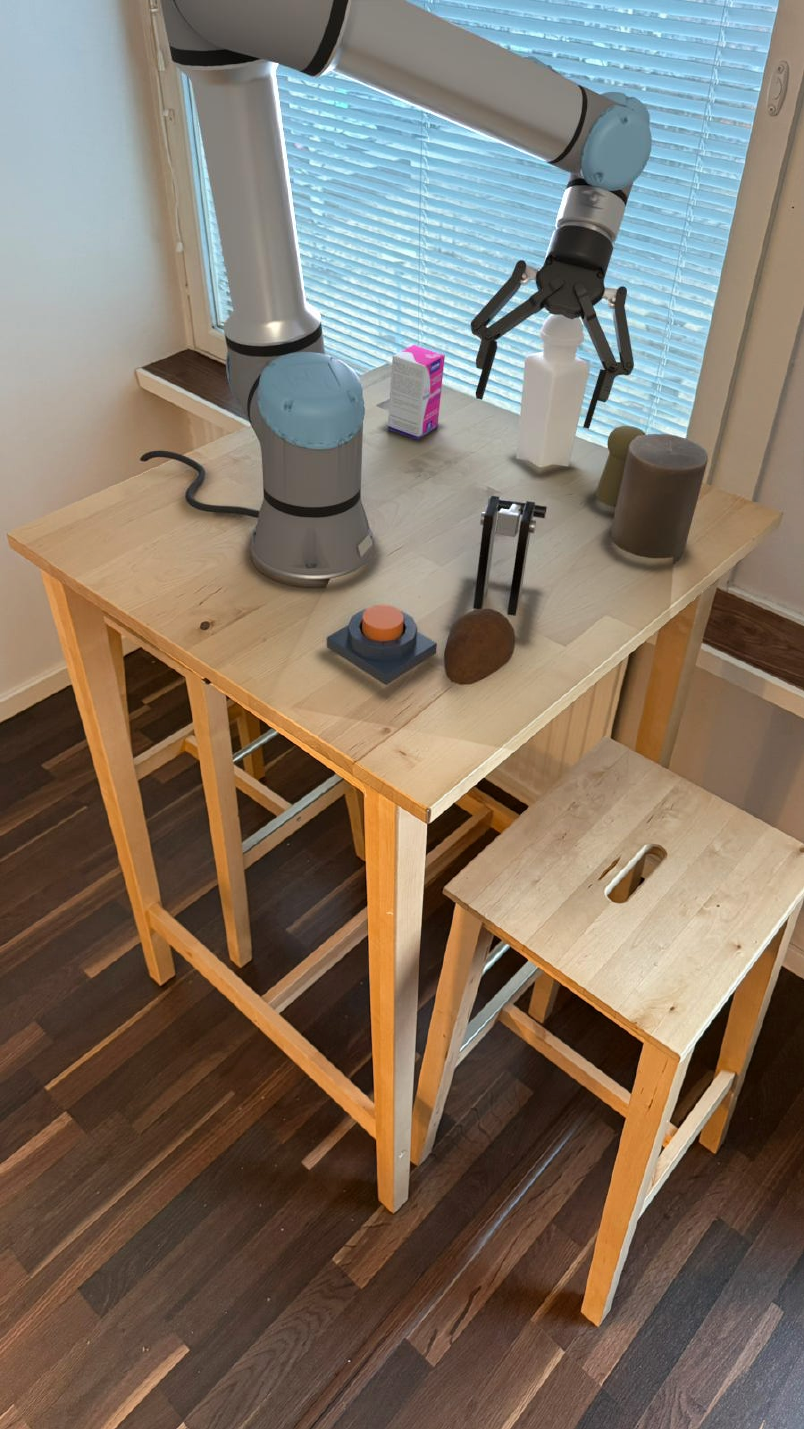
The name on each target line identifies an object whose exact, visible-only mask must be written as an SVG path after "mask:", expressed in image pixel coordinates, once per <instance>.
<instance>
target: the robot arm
mask: <svg viewBox="0 0 804 1429" xmlns="http://www.w3.org/2000/svg"><path fill="white" fill-rule="evenodd" d="M159 2H160V7H161V13H162V17H163V22H164V26H165V27H164V28H165V32H166V37H167V38H166V39H167V43H168V47H169V52H170V57H171V62H172V65H173V66H175V67H176V68H177V69H178V70H179V71H180V72H181V73H182V74H184V75H185V76H186V77H187V78H188V79H189V80H190V83H191V87H192V94H193V98H194V104H195V110H196V115H197V120H198V127H199V131H200V137H201V142H202V148H203V154H204V160H205V165H206V169H207V176H208V180H209V181H208V182H209V187H210V191H211V198H212V202H213V207H214V212H215V218H216V224H217V225H216V226H217V229H218V235H219V241H220V246H221V251H222V256H223V263H224V269H225V274H226V278H227V285H228V290H229V295H230V300H231V306H232V312H231V314H230V315H229V316H228V318H227V319H226V320H225V322H224V324H223V333H224V334H223V335H224V338H225V339H224V340H225V345H226V349H227V351H226V356H225V357H226V358H225V367H226V368H225V369H226V372H225V373H226V378H227V382H228V385H229V388H230V391H231V394H232V395H233V398H234V399H235V400H236V402H237V403H238V404H239V405H240V407H241V409H242V410H243V413H244V414H245V416H246V418H247V420H248V422H249V424H250V426H251V428H252V430H253V432H254V434H255V436H256V438H257V440H258V442H259V446H260V452H261V469H262V470H261V472H262V490H263V492H262V493H263V500H262V502H261V505H260V509H259V510H257V509H253V508H250V507H249V508H248V507H244V506H243V507H242V506H235V505H234V506H232V505H215V504H207V503H203V502H200V501H198V500H196V499H195V498H194V497H193V496H194V494H195V492H196V490H198V488H199V487H200V486H201V485H202V484H203V482H204V481H205V478H206V470H205V468H204V467H203V465H201V464H200V463H199V462H198V461H195V460H194V459H193V458H191V457H188V456H186V455H183V454H180V453H177V452H173V451H169V450H151V451H148V452H146V453H143V455H141V457H140V458H139V461H140V462H148V461H149V460H151V459H155V458H165V459H169V460H174V461H178V462H181V463H183V464H185V465H187V466H189V467H191V468H192V469H194V470H195V471H196V472H198V475H197V476H196V478H195V479H194V480H193V481H192V482H191V483H190V485H189V486H188V488H187V489H186V491H185V496H184V497H185V501H186V502H187V503H188V504H189V505H190V506H191V507H192V508H194V509H197V510H199V511H203V512H208V513H218V514H234V515H235V514H236V515H243V516H249V517H251V518H252V517H253V518H257V521H256V524H255V526H254V528H253V530H252V533H251V537H250V556H251V560H252V563H253V564H254V566H255V567H256V569H258V571H259V572H261V574H263V575H265V577H268V578H270V579H272V580H274V581H275V582H279V583H282V584H285V585H289V586H293V587H299V588H300V587H301V588H326V587H327V586H328V584H329V582H330V581H331V579H334V578H339V577H343V576H347V575H350V574H351V573H354V572H356V571H358V570H359V569H361V568H362V567H363V566H365V565H366V564H367V563H368V562H369V561H370V560H371V558H372V557H373V553H374V550H375V538H374V536H373V532H372V529H371V528H370V524H369V520H368V516H367V514H366V511H365V508H364V505H363V502H362V470H363V469H362V467H363V466H362V465H363V438H364V437H363V436H364V434H363V432H364V420H365V414H366V407H365V400H364V393H363V392H364V391H363V385H362V382H361V379H360V377H359V375H358V374H357V373H356V371H355V370H354V369H353V368H352V367H351V366H350V365H348V364H347V363H346V362H344V361H342V360H340V359H333V357H332V356H330V355H328V354H326V350H325V349H326V348H325V340H324V333H323V326H322V318H321V314H320V312H319V311H318V310H317V309H316V308H315V307H313V306H312V305H311V304H309V302H307V301H306V295H305V286H304V279H303V270H302V265H301V264H302V262H301V257H300V248H299V241H298V235H297V234H298V233H297V227H296V219H295V211H294V204H293V195H292V189H291V180H290V173H289V166H288V158H287V151H286V142H285V136H284V130H283V129H284V128H283V122H282V113H281V106H280V99H279V90H278V84H277V76H276V70H277V67H278V66H279V65H281V66H284V67H287V68H288V69H292V70H295V71H297V72H300V73H303V74H304V75H307V76H309V77H312V78H315V79H316V78H320V77H321V76H323V75H325V74H326V73H328V72H332V73H335V74H337V75H339V76H342V77H344V78H346V79H348V80H351V81H353V82H356V83H359V84H361V85H362V86H365V87H368V88H369V89H373V90H375V91H378V92H380V93H382V94H385V95H386V96H389V97H392V98H393V99H396V100H399V101H401V102H403V103H406V104H408V105H411V106H413V107H415V108H418V109H420V110H423V111H425V112H427V113H430V114H431V115H434V116H437V117H439V118H442V119H444V120H446V121H449V122H451V123H453V124H455V125H458V126H460V127H463V128H465V129H467V130H469V131H472V132H474V133H476V134H479V135H481V136H483V137H485V138H489V139H491V140H493V141H495V142H498V143H500V144H503V145H505V146H507V147H510V148H512V149H513V150H517V151H519V152H522V153H524V154H526V155H529V156H531V157H533V158H535V159H538V160H540V161H543V162H545V163H547V164H549V165H550V166H552V167H553V166H554V167H555V168H558V169H560V170H562V171H565V172H568V173H569V174H568V178H567V182H566V187H565V190H564V194H563V197H562V201H561V204H560V207H559V210H558V214H557V217H556V220H555V229H554V230H553V232H552V234H551V238H550V241H549V244H548V248H547V251H546V254H545V255H546V256H545V259H544V262H543V264H542V265H541V266H540V268H539V269H537V268H534V267H532V266H529V265H527V263H526V261H525V260H523V259H520V260H518V261H517V262H516V264H515V266H514V268H513V271H512V273H511V276H510V277H509V279H507V281H505V283H504V284H503V285H502V286H501V288H499V290H498V291H497V292H496V293H495V294H494V295H493V296H492V297H491V299H490V300H489V301H488V302H487V303H486V304H485V305H484V306H483V308H482V309H481V310H480V311H479V312H478V313H477V315H476V316H474V317H473V319H472V320H471V321H470V331H471V334H472V335H473V336H476V337H477V338H479V339H480V343H479V347H478V350H477V355H476V358H475V367H476V369H478V370H481V372H480V376H479V380H478V383H477V386H476V390H475V398H476V399H477V400H481V401H483V400H484V396H485V395H484V394H485V392H486V388H487V384H488V382H489V379H490V375H491V372H492V368H493V364H494V361H495V357H496V355H497V351H498V341H497V340H499V339H500V338H502V337H503V336H504V335H506V334H507V333H508V332H510V331H511V330H513V329H514V328H516V327H517V326H519V325H520V324H521V323H523V322H525V321H526V320H528V319H529V318H530V317H532V316H533V315H536V314H537V313H539V312H540V311H542V310H543V309H545V310H546V311H547V312H548V314H549V315H550V314H554V315H563V316H565V317H566V318H569V319H574V318H578V317H579V318H580V320H581V322H582V324H583V325H584V326H583V327H585V328H586V331H587V333H588V336H589V338H590V340H591V342H592V344H593V347H594V349H595V352H596V354H597V356H598V358H599V360H600V363H601V365H602V367H603V369H602V368H600V370H599V373H598V376H597V379H596V383H595V386H594V389H593V391H592V397H591V399H590V402H589V407H588V409H587V412H586V416H585V419H584V423H583V425H582V428H584V429H587V430H590V428H591V427H590V426H591V423H592V421H593V417H594V414H595V410H596V408H597V405H598V402H602V403H606V402H608V400H609V397H610V395H611V391H612V388H613V385H614V381H615V379H616V378H617V377H618V376H630V375H631V374H632V372H633V371H634V368H635V361H634V355H633V348H632V344H631V337H630V331H629V325H628V319H627V318H628V317H627V312H626V306H625V305H626V301H627V295H628V288H627V287H626V286H624V285H621V286H619V287H618V288H614V287H606V286H605V279H606V275H607V273H608V272H607V271H608V268H609V264H610V261H611V258H612V255H613V252H614V246H613V244H614V243H616V241H617V239H618V236H619V232H620V229H621V225H622V222H623V219H624V215H625V213H626V206H627V203H628V201H629V197H630V194H631V191H632V188H633V185H634V182H635V181H636V180H637V179H638V178H639V177H640V176H641V175H642V173H643V171H644V170H645V168H646V166H647V164H648V161H649V159H650V157H651V153H652V146H653V139H652V138H653V136H652V132H651V129H650V124H651V123H650V122H651V116H650V111H649V110H648V108H647V106H646V105H645V104H644V103H643V102H642V101H641V100H640V99H638V98H636V97H635V96H628V95H626V93H625V92H620V91H606V92H603V93H598V92H596V91H594V90H592V89H590V88H587V87H585V86H583V85H581V84H578V83H577V82H576V81H573V80H572V79H570V78H567V77H566V76H563V75H562V74H560V73H559V72H557V71H556V70H555V69H554V68H553V66H552V65H550V64H546V63H544V61H542V60H540V59H539V58H537V57H536V56H532V55H531V56H530V55H527V56H521V55H520V54H518V53H515V52H513V51H512V50H510V49H508V48H505V47H503V46H501V45H499V44H497V43H495V42H493V41H491V40H488V39H487V38H484V37H483V36H481V35H479V34H476V33H474V32H473V31H470V30H468V29H466V28H464V27H462V26H460V25H458V24H456V23H453V22H452V21H450V20H447V19H446V18H443V17H441V16H439V15H437V14H435V13H433V12H431V11H428V10H427V9H425V8H422V7H421V6H418V5H417V4H414V3H412V2H410V1H408V0H159ZM531 281H535V285H536V288H537V291H536V292H534V293H533V294H532V295H530V296H529V298H528V299H526V300H525V301H524V302H522V303H521V304H519V305H518V306H516V307H515V308H513V309H512V310H511V311H509V312H507V313H506V314H505V315H503V316H502V317H501V318H499V319H498V320H496V321H495V322H493V323H492V324H491V325H489V324H490V323H491V322H492V321H493V320H494V319H495V317H496V316H497V315H498V314H499V313H500V311H502V310H503V308H504V307H505V306H506V305H507V304H508V303H509V302H510V301H511V299H512V298H513V297H514V296H515V295H516V294H517V293H518V291H519V290H520V288H521V286H523V287H524V286H527V285H528V284H529V282H531ZM602 300H606V303H607V307H608V308H609V309H611V310H612V320H613V327H614V332H615V339H616V344H617V345H616V346H617V350H618V357H619V361H617V360H616V357H615V355H614V353H613V351H612V348H611V346H610V344H609V342H608V339H607V337H606V335H605V332H604V330H603V328H602V325H601V323H600V320H599V318H598V316H597V311H596V309H595V308H594V307H595V306H596V305H597V304H598V303H600V302H601V301H602ZM487 326H488V327H487Z"/></svg>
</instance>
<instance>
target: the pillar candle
mask: <svg viewBox="0 0 804 1429" xmlns="http://www.w3.org/2000/svg"><path fill="white" fill-rule="evenodd" d="M708 461H709V454H708V452H707V450H706V449H705V448H704V447H703V446H702V445H701V444H700V443H699V442H696V441H694V440H692V439H690V438H687V437H682V436H678V435H676V434H675V435H673V434H668V433H650V434H646V435H642V436H641V435H640V436H637V437H636V439H634V440H633V441H632V442H631V443H630V445H629V449H628V454H627V459H626V464H625V469H624V473H623V478H622V483H621V487H620V491H619V496H618V501H617V505H616V506H615V509H614V515H613V520H612V523H611V527H610V528H611V529H610V534H609V535H610V539H611V541H612V543H613V544H615V546H617V547H618V548H620V549H621V550H623V551H625V552H627V553H628V554H631V555H635V556H637V557H642V558H647V559H670V558H672V564H676V563H678V562H679V561H680V560H681V559H682V558H683V555H684V553H685V550H686V545H687V541H688V538H689V534H690V530H691V528H692V527H691V526H692V522H693V519H694V515H695V511H696V509H697V508H696V507H697V504H698V500H699V495H700V492H701V488H702V485H703V480H704V476H705V473H706V469H707V465H708Z"/></svg>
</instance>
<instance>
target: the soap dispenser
mask: <svg viewBox="0 0 804 1429" xmlns="http://www.w3.org/2000/svg"><path fill="white" fill-rule="evenodd" d="M583 325H584V324H583V321H582V319H581V317H578V318H574V319H569V318H566V317H565V316H563V315H554V314H550V313H549V315H548V316H547V317H546V319H545V320H544V322H543V324H542V326H541V328H540V329H539V334H538V337H539V339H540V340H541V343H542V351H540V352H536V353H535V352H534V353H531V354H528V355H527V356H526V357H525V359H524V367H523V379H522V388H521V400H520V411H519V412H520V414H519V424H518V433H517V434H518V435H517V445H516V446H517V447H516V460H521V461H522V460H523V461H528V462H531V463H532V464H534V465H535V466H536V467H538V468H544V467H548V466H552V465H554V466H562V467H569V465H570V462H571V458H572V457H571V456H572V452H573V447H574V443H575V439H576V434H577V429H578V425H579V421H580V416H581V411H582V407H583V404H584V403H583V402H584V398H585V394H586V390H587V386H588V380H589V375H590V372H591V366H590V364H589V363H588V362H587V361H585V360H583V359H582V358H580V357H578V355H577V354H576V353H577V351H578V349H579V347H580V346H581V344H583V343H584V341H585V332H584V326H583ZM576 355H577V356H576Z"/></svg>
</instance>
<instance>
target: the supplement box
mask: <svg viewBox="0 0 804 1429" xmlns="http://www.w3.org/2000/svg"><path fill="white" fill-rule="evenodd" d="M445 357H446V355H445V354H442V353H440V352H437V351H433V350H430V349H427V348H425V347H421V346H419V345H416V344H413V345H410V346H409V347H407V348H404V349H403V350H401V351H399V352H398V353H396V354H394V355H393V356H392V359H391V360H392V363H391V376H390V388H389V389H390V392H389V402H388V404H389V405H388V417H387V428H386V429H387V430H389V431H392V432H394V433H398V434H401V435H403V436H406V437H408V438H411V439H414V440H420V439H421V438H422V437H423V436H425V435H426V434H428V433H429V432H431V431H432V430H435V429H436V428H438V426H439V416H440V406H441V395H442V389H443V388H442V387H443V379H444V378H443V377H444V368H445Z"/></svg>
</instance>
